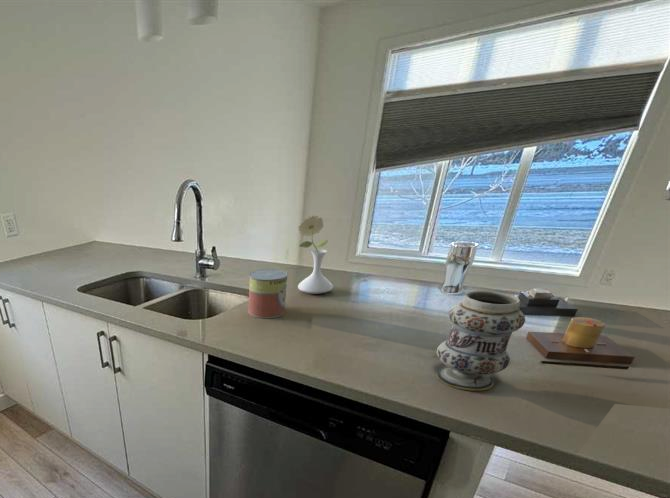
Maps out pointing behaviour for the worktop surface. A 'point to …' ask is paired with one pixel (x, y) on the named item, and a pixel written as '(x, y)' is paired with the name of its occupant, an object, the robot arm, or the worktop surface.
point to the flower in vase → (316, 280)
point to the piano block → (545, 306)
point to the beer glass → (458, 266)
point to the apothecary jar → (479, 339)
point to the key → (540, 293)
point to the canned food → (267, 293)
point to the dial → (583, 332)
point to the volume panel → (579, 351)
